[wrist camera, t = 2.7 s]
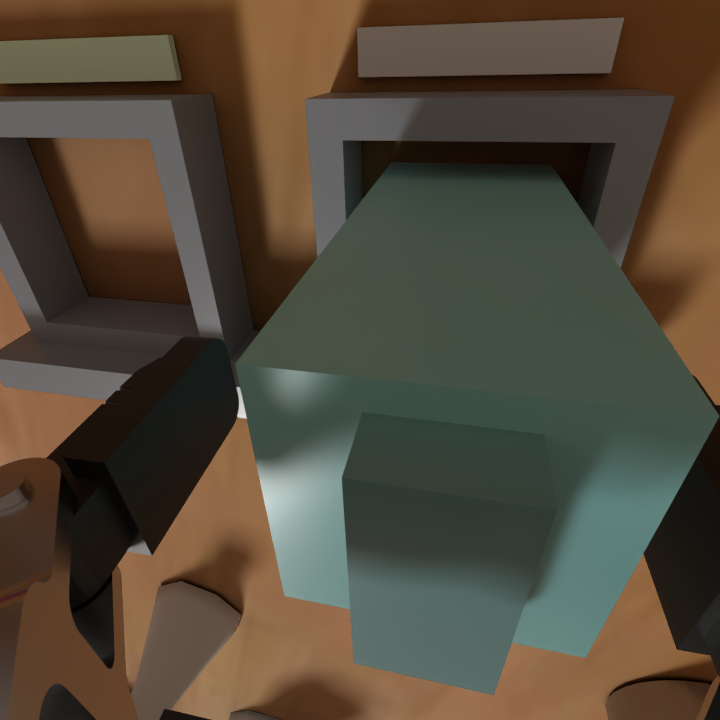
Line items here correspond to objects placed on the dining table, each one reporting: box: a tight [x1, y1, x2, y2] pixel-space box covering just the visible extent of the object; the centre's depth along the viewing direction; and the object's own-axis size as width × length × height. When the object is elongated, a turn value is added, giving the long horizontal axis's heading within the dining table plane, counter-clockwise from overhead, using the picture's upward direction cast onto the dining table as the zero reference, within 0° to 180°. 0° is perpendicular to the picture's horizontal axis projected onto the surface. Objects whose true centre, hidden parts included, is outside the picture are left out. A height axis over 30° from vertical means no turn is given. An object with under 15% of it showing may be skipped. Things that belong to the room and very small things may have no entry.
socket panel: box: [0, 17, 675, 419], centre depth 15 cm, size 24×12×4 cm, turn 91°
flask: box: [131, 581, 241, 720], centre depth 32 cm, size 7×7×10 cm
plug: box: [235, 162, 719, 695], centre depth 11 cm, size 5×5×13 cm
